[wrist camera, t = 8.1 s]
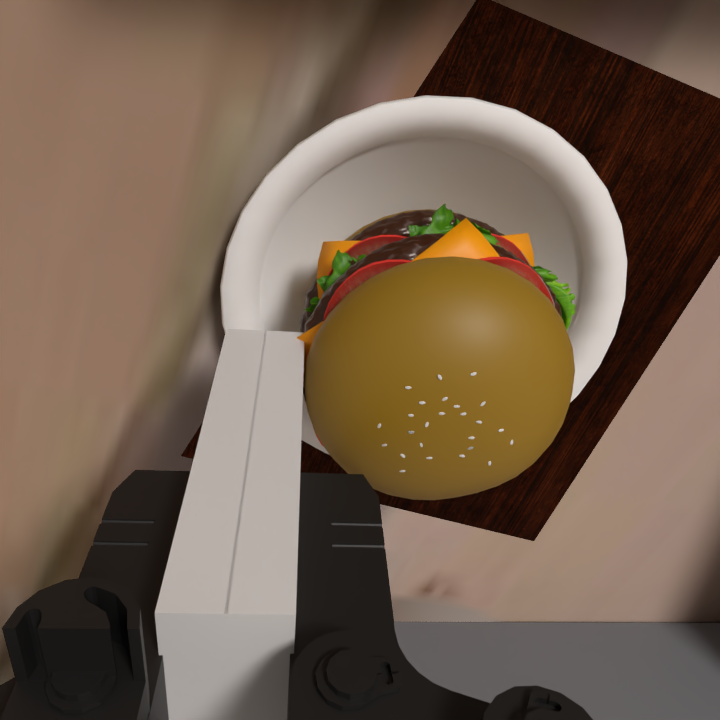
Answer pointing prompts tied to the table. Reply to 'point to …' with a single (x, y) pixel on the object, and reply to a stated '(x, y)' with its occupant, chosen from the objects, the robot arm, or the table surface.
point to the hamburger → (482, 267)
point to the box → (577, 663)
